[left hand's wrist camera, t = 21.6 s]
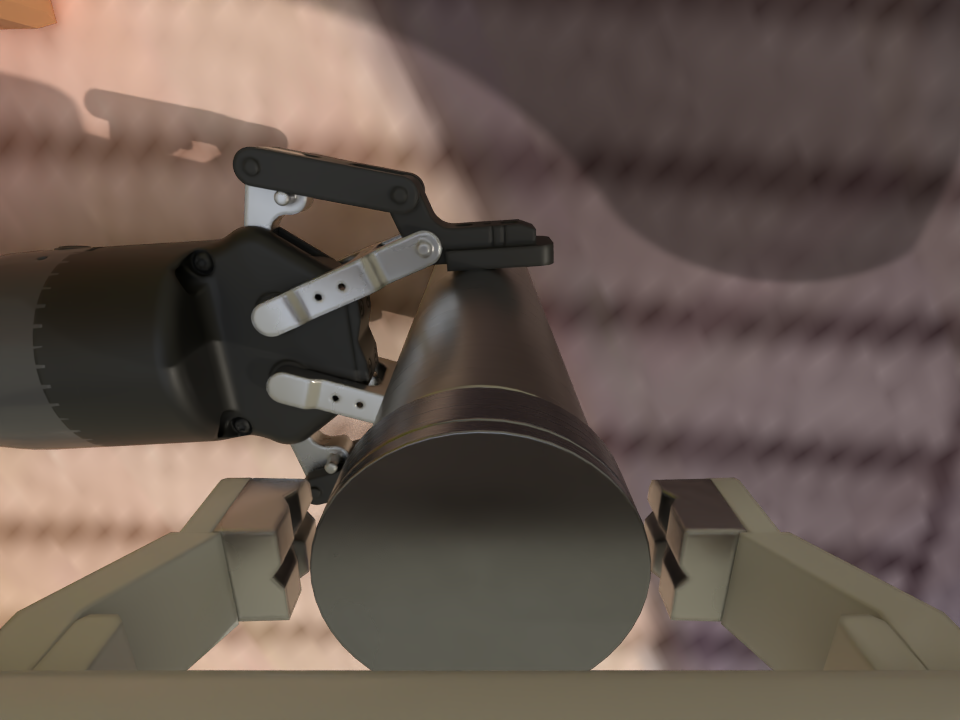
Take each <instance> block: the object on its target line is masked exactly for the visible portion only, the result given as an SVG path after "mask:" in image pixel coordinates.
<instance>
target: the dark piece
mask: <svg viewBox="0 0 960 720" xmlns="http://www.w3.org/2000/svg"><path fill="white" fill-rule="evenodd" d="M475 387H484V388H501V389H507V390H513V391H518V392H523V393H526V394H529V395H532V396H536V397H539V398H542V399H544V400H546V401H549V402H551V403H553V404H555V405H558V406H560V407H561V408H563V409H565V410H566V411H568V412H569V413H571V414H573V415H574V416H576V417H577V418H578V419H580V420H581V421H582V422H583V423H585V424H586V425H587V426H588V423H587V421H586V418H585V416H584V413H583V411H582V408H581V405H580V403H579V400H578V398H577V395H576V393H575V390H574V388H573V385H572V382H571V380H570V377H569V375H568V372H567V370H566V367H565V364H564V362H563V359H562V357H561V354H560V352H559V349H558V346H557V344H556V341H555V339H554V336H553V334H552V331H551V328H550V326H549V323H548V321H547V318H546V316H545V313H544V310H543V308H542V305H541V303H540V300H539V298H538V295H537V292H536V290H535V287H534V285H533V282H532V280H531V277H530V274H529V272H528V269H527V267H514V268H497V269H477V270H464V271H448V272H447V264H440V265H435V266H434V269H433V271H432V274H431V276H430V279H429V282H428V284H427V287H426V289H425V292H424V294H423V297H422V300H421V302H420V305H419V307H418V310H417V312H416V315H415V318H414V320H413V323H412V325H411V328H410V331H409V333H408V336H407V338H406V341H405V343H404V346H403V349H402V351H401V354H400V356H399V359H398V361H397V364H396V367H395V369H394V372H393V374H392V377H391V380H390V382H389V385H388V387H387V390H386V392H385V395H384V398H383V400H382V403H381V405H380V408H379V410H378V413H377V416H376V418H375V421H374V423H373V426H374V425H375V424H376V423H378V422H379V421H380V420H381V419H382V418H384V417H385V416H387V415H388V414H390V413H392V412H393V411H395V410H396V409H398V408H400V407H402V406H404V405H406V404H408V403H410V402H412V401H414V400H417V399H419V398H422V397H425V396H429V395H432V394H435V393H438V392H443V391H449V390H454V389H460V388H475ZM373 426H372V427H373ZM588 427H589V426H588Z"/></svg>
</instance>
